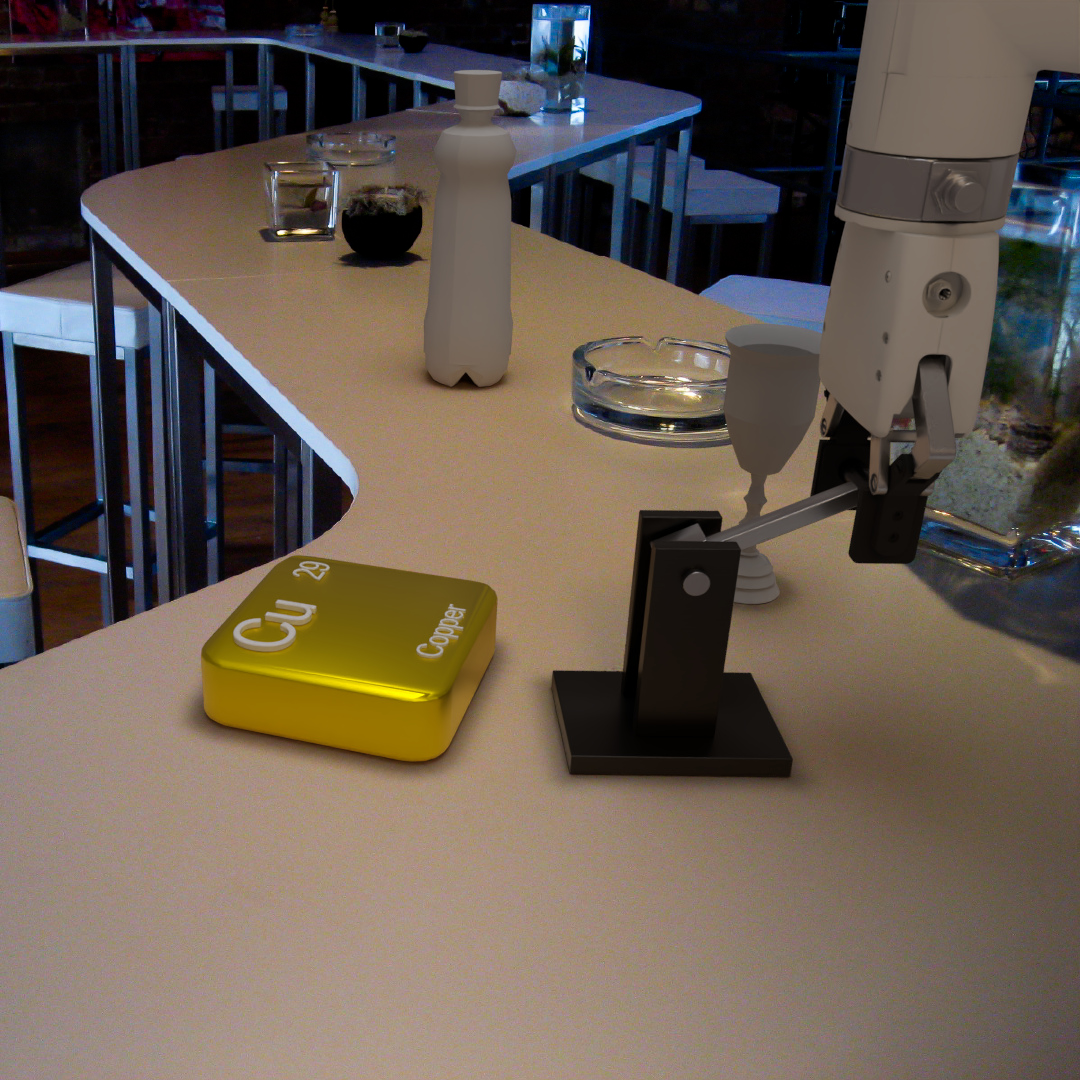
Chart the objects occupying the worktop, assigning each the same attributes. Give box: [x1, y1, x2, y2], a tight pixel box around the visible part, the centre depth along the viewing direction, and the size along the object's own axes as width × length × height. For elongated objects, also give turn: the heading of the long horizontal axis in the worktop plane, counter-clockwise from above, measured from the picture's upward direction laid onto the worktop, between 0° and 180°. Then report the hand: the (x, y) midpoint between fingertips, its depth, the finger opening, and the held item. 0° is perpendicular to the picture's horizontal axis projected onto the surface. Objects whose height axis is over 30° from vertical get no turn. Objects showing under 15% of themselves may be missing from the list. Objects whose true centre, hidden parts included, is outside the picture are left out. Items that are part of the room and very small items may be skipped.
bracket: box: [551, 509, 794, 778], centre depth 70 cm, size 12×9×13 cm
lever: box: [650, 458, 870, 551], centre depth 67 cm, size 12×5×2 cm, turn 87°
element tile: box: [200, 554, 498, 762], centre depth 77 cm, size 15×15×5 cm
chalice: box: [723, 323, 822, 605], centre depth 85 cm, size 7×7×18 cm
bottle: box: [423, 69, 517, 388], centre depth 125 cm, size 9×9×30 cm
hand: (859, 530), depth 67 cm, fingers open, 5 cm apart
